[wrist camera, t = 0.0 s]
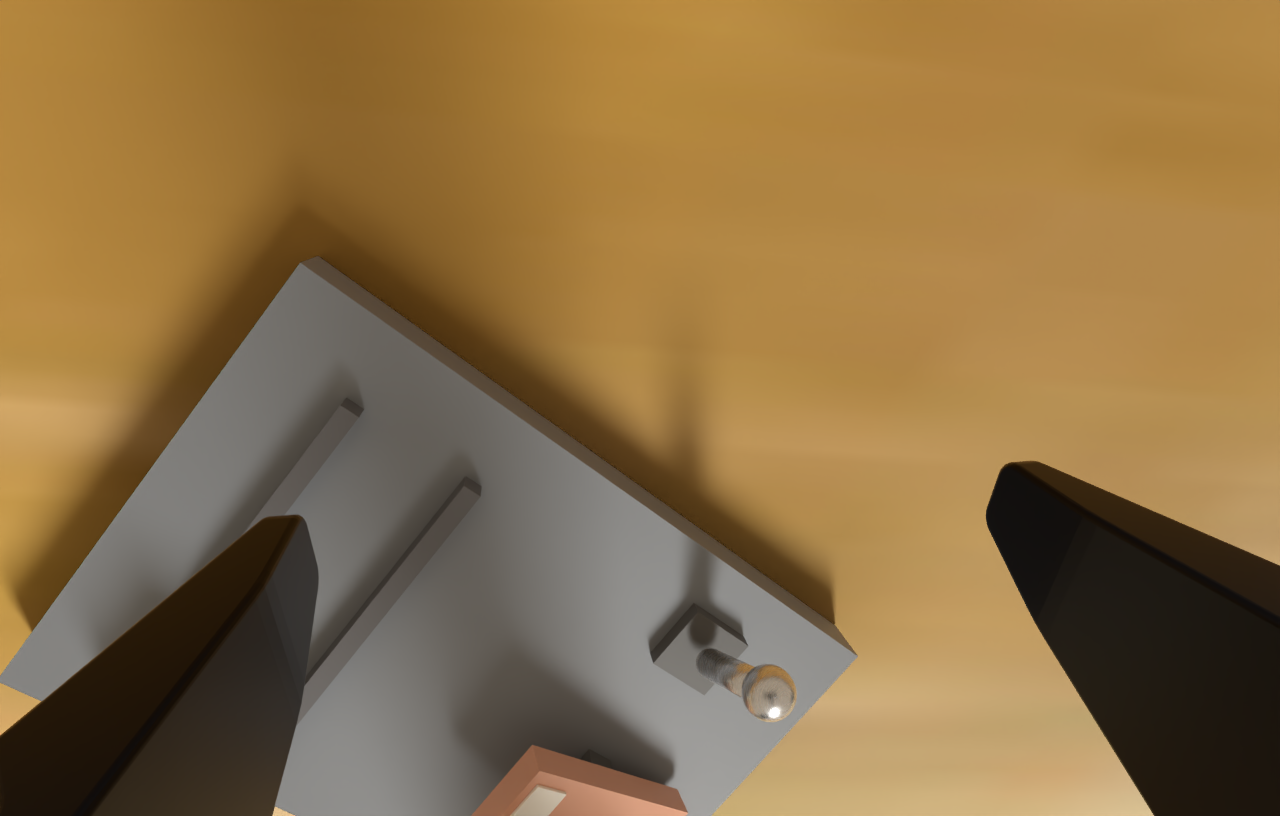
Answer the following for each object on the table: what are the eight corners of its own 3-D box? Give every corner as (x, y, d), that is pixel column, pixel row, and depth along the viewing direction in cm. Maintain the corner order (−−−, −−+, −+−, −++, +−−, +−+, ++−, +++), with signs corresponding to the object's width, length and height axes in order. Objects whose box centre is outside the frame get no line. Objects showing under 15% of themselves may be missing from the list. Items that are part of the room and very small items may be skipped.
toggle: (709, 692, 25) (791, 739, 21) (674, 670, 25) (752, 714, 21) (731, 649, 26) (816, 687, 21) (697, 627, 25) (777, 661, 21)
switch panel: (584, 901, 31) (591, 970, 29) (36, 642, 24) (-25, 700, 21) (835, 625, 29) (868, 671, 27) (318, 255, 22) (290, 266, 20)
